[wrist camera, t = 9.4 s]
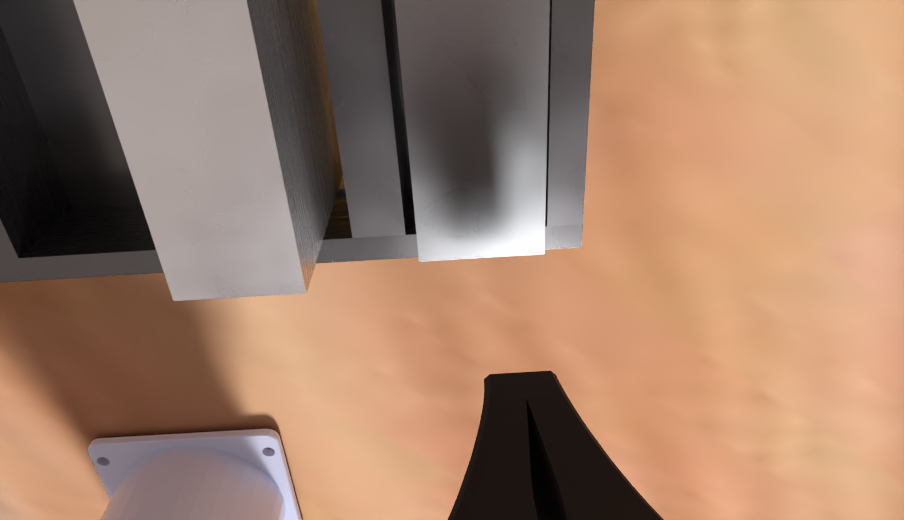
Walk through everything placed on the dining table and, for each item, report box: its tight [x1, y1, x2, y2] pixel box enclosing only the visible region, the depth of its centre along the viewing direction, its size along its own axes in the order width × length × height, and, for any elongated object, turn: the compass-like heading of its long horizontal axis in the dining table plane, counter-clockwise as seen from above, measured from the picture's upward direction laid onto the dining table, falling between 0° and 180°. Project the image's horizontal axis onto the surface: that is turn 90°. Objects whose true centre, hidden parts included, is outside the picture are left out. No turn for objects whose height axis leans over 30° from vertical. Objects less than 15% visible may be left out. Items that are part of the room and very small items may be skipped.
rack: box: [0, 0, 595, 282], centre depth 16 cm, size 11×17×7 cm, turn 93°
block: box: [73, 0, 343, 301], centre depth 15 cm, size 8×3×7 cm, turn 3°
